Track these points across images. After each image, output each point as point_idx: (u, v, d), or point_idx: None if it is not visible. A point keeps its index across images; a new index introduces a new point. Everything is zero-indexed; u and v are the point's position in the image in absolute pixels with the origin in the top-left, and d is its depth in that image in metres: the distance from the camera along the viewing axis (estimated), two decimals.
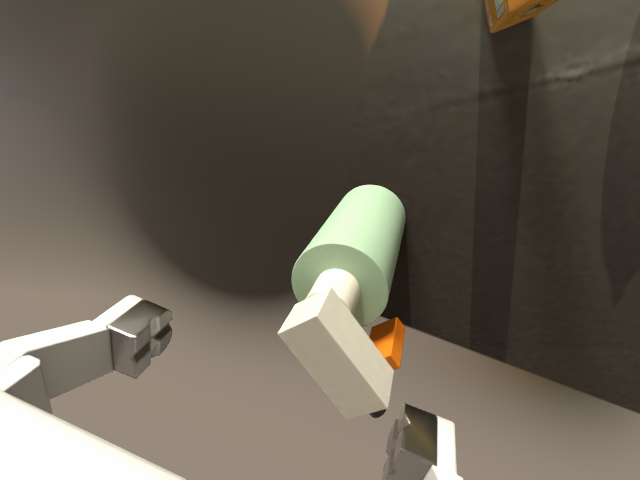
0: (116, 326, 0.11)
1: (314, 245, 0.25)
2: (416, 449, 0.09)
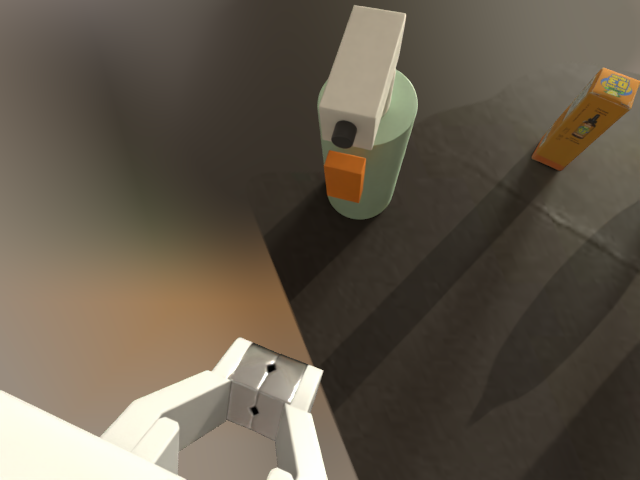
0: (236, 376, 0.10)
1: None
2: (274, 390, 0.10)
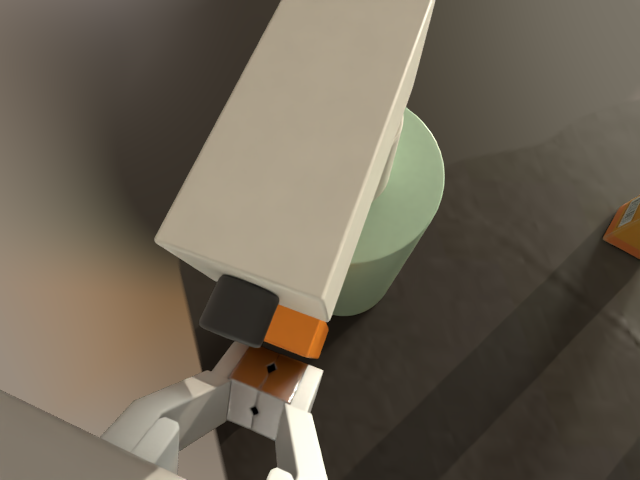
0: (236, 376, 0.10)
1: None
2: (274, 390, 0.10)
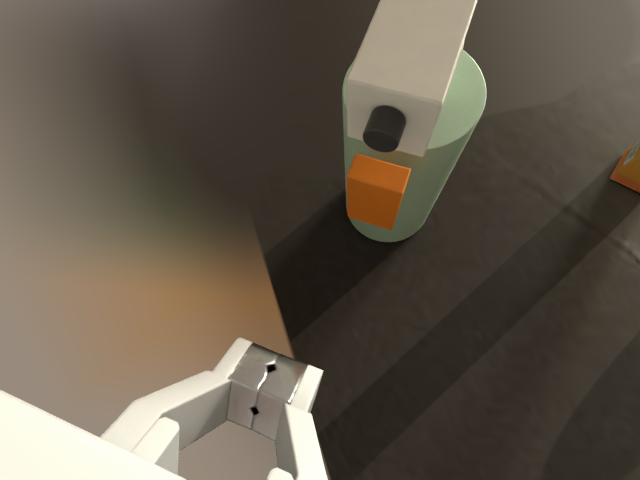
0: (236, 376, 0.10)
1: None
2: (274, 390, 0.10)
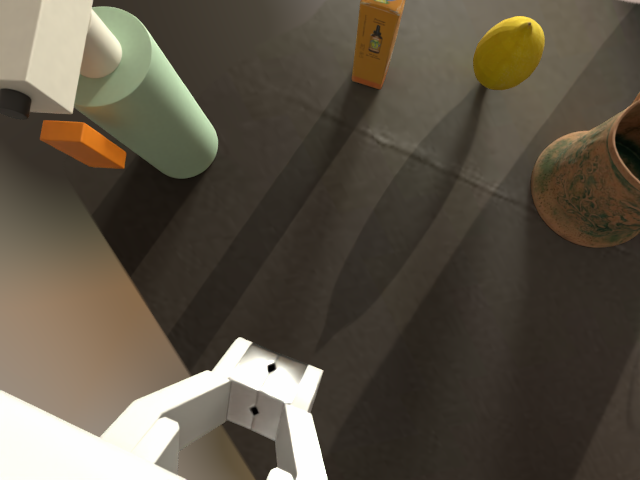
0: (236, 376, 0.10)
1: None
2: (274, 390, 0.10)
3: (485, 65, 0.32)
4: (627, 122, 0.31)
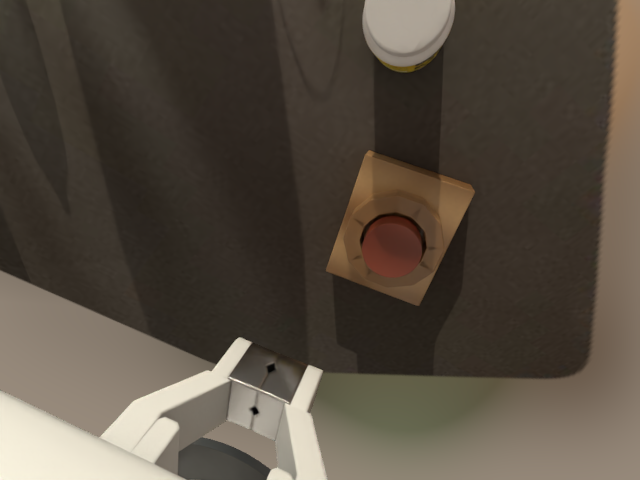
0: (236, 376, 0.10)
1: None
2: (274, 390, 0.10)
3: None
4: None
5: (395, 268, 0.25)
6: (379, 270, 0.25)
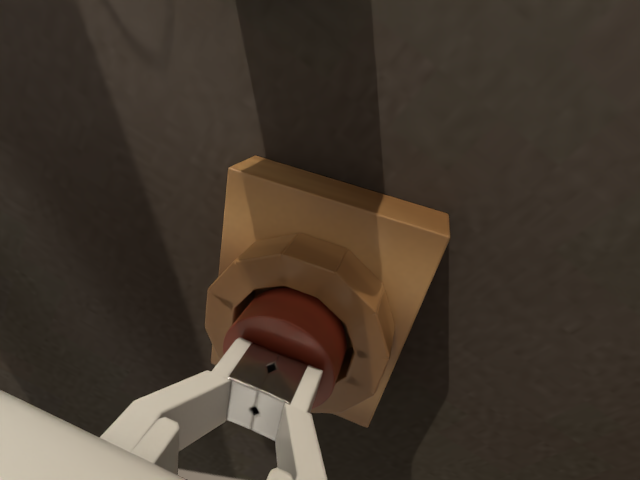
0: (236, 376, 0.10)
1: None
2: (274, 390, 0.10)
3: None
4: None
5: None
6: None
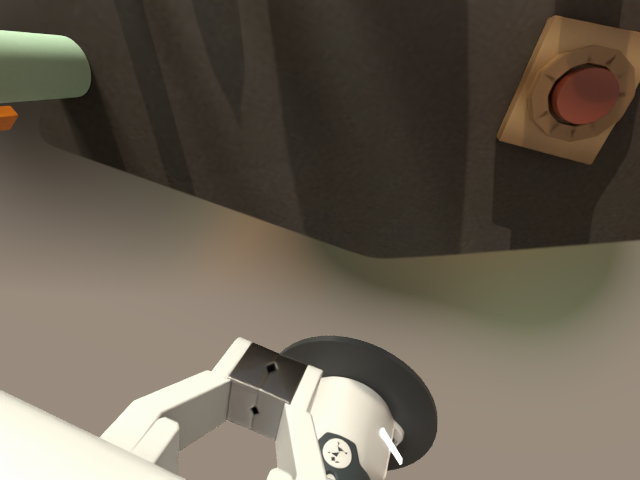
0: (236, 376, 0.10)
1: None
2: (274, 390, 0.10)
3: None
4: None
5: (589, 113, 0.28)
6: (572, 118, 0.28)
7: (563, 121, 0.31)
